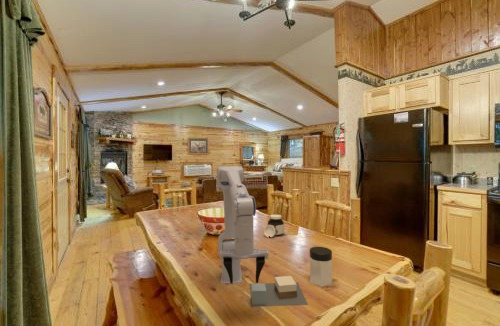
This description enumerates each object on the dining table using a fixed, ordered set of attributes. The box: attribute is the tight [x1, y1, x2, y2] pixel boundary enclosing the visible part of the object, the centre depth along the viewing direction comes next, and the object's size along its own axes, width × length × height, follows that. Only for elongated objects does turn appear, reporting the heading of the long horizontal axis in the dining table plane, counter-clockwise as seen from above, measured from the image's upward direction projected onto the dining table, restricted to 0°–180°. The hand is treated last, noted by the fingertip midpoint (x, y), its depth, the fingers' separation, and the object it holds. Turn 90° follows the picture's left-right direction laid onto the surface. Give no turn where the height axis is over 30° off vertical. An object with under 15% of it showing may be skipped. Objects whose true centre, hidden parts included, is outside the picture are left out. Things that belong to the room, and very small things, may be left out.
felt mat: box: [249, 281, 309, 308], centre depth 85 cm, size 14×18×1 cm
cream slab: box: [274, 275, 297, 292], centre depth 86 cm, size 6×6×2 cm
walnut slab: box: [274, 284, 297, 299], centre depth 86 cm, size 6×6×2 cm
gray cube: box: [251, 283, 266, 306], centre depth 81 cm, size 4×4×4 cm
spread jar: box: [263, 214, 285, 238], centre depth 150 cm, size 12×11×12 cm
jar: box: [309, 246, 333, 288], centre depth 94 cm, size 9×8×12 cm
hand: (244, 281), depth 75 cm, fingers open, 7 cm apart
